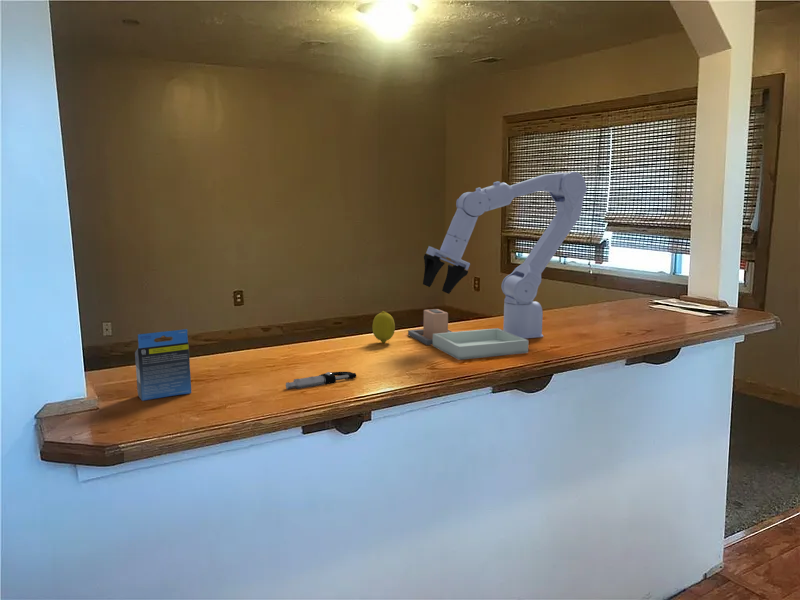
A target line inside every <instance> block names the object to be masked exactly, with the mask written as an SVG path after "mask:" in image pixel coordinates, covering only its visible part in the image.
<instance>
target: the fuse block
mask: <svg viewBox="0 0 800 600" xmlns="http://www.w3.org/2000/svg"><path fill="white" fill-rule="evenodd" d="M448 330H449V313H448V312H447V311H444V310H441V309H439V308H433V309H423V335H422V336H424V337H426V338H428V339H433V334H436V333H447V332H448Z"/></svg>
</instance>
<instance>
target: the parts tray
mask: <svg viewBox="0 0 800 600" xmlns="http://www.w3.org/2000/svg"><path fill="white" fill-rule="evenodd" d="M432 347H433V348H436V349H438V350H439V351H442V352H443V353H445V354H447V355H449V356H450V357H453V358H454V359H456V360H458V361H459V360H460V361H463V360H470V359H471V360H473V359H480V358H482V359H483V358H491V357H501V356H509V355H510V356H511V355H519V354H520V355H521V354H522V355H523V354H528V353H529V339H528V338H526V339H524V338H521V337H519V336H516V335H514V334H511V333H509V332H506V331H504V330H503V329H501V328H498V327H496V328H484V329H474V330H461V331H452V332H447V333H436V334H433V345H432Z"/></svg>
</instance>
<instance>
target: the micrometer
mask: <svg viewBox="0 0 800 600" xmlns="http://www.w3.org/2000/svg"><path fill="white" fill-rule="evenodd" d="M352 379H357V374H356V372H351V371H334V372H333V371H332V372H330V371H328V372H326V373H322V374H319V375H317V376H316V375H314V376H308V377H303V378H294V379H293V381H290V382H285V388H286V390H291V389H297V390H301V389H307V388H313V387H318V386H324V385H330V384H331V385H332V384H336V383H337V381H341V380H352Z"/></svg>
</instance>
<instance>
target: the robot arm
mask: <svg viewBox="0 0 800 600" xmlns="http://www.w3.org/2000/svg"><path fill="white" fill-rule="evenodd" d="M586 184H587V183H586V180H585V178H584V176H583V175H582V174H581V173H579V172H577V171H570V172H560V171H559V172H554V173H546V174H541V175H538V176H535V177H532V178H529V179H526V180H523V181H520V182H516V183H514V184H511V185H509V184H507V183H506V182H504V181H503V182H500V181H494V182H493V183H492V185H488V186H486V187H483V188H481V187H476V188H475V191H467V192H464V193H462V194H461V195H460V196H459V198H457V199H456V204H455V205H456V206H455V207H456V211H455V213H454V216H453V217H452V219H451V221H450V225H449V227H448V229H447V231H446V234H445V236H444V238H443V242H442V244H441V246H440V249H437V248H435V247H433V246H430V245H428V248H427V250H426V252H425V254H424V255H423V261H424V273H423V279H422V285H424V286H426V287H428V288H430V287H431V286H432V285H433V282H434V281H435V278H436V276H437V275H438V273H439V272H440V270H441V268H442V267H443V266H444V265H445V264H446V263H445V262H447V263H448V265H447V270H446V271H447V273H446V277H445V280H444V283H443V285H442V289H441V291H442V292H444V293H446V294H449V295H450V293H451V292H452V291H453V289H454V288H455V287H456V285H457V284H458V283H459V282H460V281H461V280H462V279H463V278H464V277H466V276H468V274H469V267H470V266H471V263H470V262H469V261H466V260H463V259H462V258H463V255H464V253H465V251H466V248H467V246H468V243H469V241H470V239H471V236H472V233H473V232H474V228H475V227H476V223H477V222H478V218H479V216H481V215H484V213H486V212H489V211H493V210H495V209H499V208H503V207H505V206H510V205H511V203H512V201H513V200H514V198H518V197H522V196H526V195H531V194H533V193H538V192H541V191H542V192H544V193H549V195H550V197H551V199H552V200H553V202H554V203H555V209H556V212H557V213H556V214H555V216H554V217H553V218H552V219H551V221H550V223H549V224H548V226H546V227H547V228H546V229H545V230H544V231H543V233H542V235H541V236H540V237H539V239H538V240H537V241H536V243H535V245H534V246H533V248H532V249H531V250H530V252H529V254H528V255H527V256H526V258H525V259H524V261H523V262H522V263H520V265H517V267H514V270H513V271H512V272H511V273H510V274H508V275H506V276H505V277H504V278H503V280H502V282H501V290H502V293H503V294H504V295H505V298H504V305H503V328H502V330H504V331H506V332H509V333H511V334H514V335H516V336H519V337H521V338H524V339H536V338H544V334H543V307H542V305H541V303H540V302H538V301H536V300H535V298H536V297H537V296H538V295H537V294H538V289H539V287H540V285H541V283H542V273H543V272H544V270H545V269H546V267H547V265H548V264H549V263H550V262H551V260H552V259H553V257H554V255H555V254H556V253H557V251H558V250H559V248H560V247H561V245H562V243H563V242H564V240H566V238H567V237H568V235H569V233H570V232H571V230H572V229H573V227H574V226H575V225H576V223H577V222H578V220H579V219H580V217H581V214H582V211H583V210H582V208H583V203H584V198H585V197H584V196H585V195H586V193H587V191H588V188H587V185H586ZM447 258H448V259H447ZM449 259H450V260H449ZM441 260H442V261H441ZM451 264H452V265H451ZM534 300H535V301H534Z"/></svg>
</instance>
